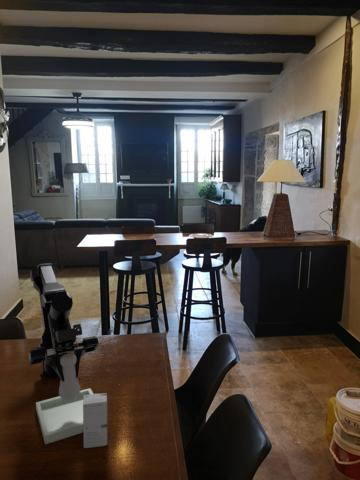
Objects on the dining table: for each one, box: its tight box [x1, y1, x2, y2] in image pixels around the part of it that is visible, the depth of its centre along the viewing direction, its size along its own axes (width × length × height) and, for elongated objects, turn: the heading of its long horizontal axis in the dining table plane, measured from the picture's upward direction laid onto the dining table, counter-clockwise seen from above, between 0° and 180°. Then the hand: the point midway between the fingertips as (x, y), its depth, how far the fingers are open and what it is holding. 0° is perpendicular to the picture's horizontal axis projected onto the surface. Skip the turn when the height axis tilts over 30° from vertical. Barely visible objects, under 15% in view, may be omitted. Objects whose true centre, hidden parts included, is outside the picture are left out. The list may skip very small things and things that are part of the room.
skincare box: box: [82, 392, 108, 449], centre depth 94 cm, size 6×4×12 cm
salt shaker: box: [58, 353, 81, 403], centre depth 102 cm, size 6×6×13 cm
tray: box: [35, 387, 94, 445], centre depth 104 cm, size 16×16×2 cm
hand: (70, 379), depth 101 cm, fingers closed on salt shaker, 3 cm apart
